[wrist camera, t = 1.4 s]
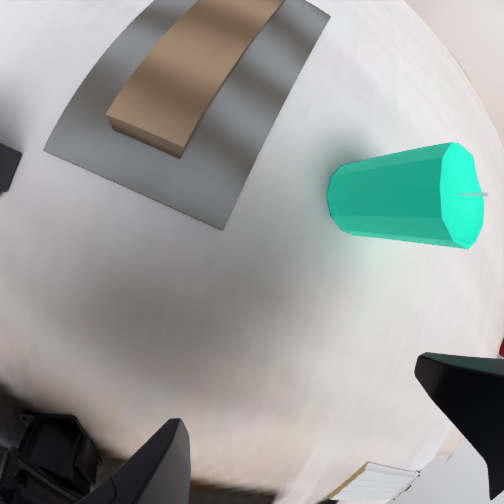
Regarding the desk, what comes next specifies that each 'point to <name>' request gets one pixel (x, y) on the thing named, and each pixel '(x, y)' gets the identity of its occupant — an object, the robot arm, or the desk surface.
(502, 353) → the plastic cup
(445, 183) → the candle
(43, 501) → the robot arm
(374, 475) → the baseboard
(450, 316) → the desk surface
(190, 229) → the desk surface
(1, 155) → the upright charcoal slab
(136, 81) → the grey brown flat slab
